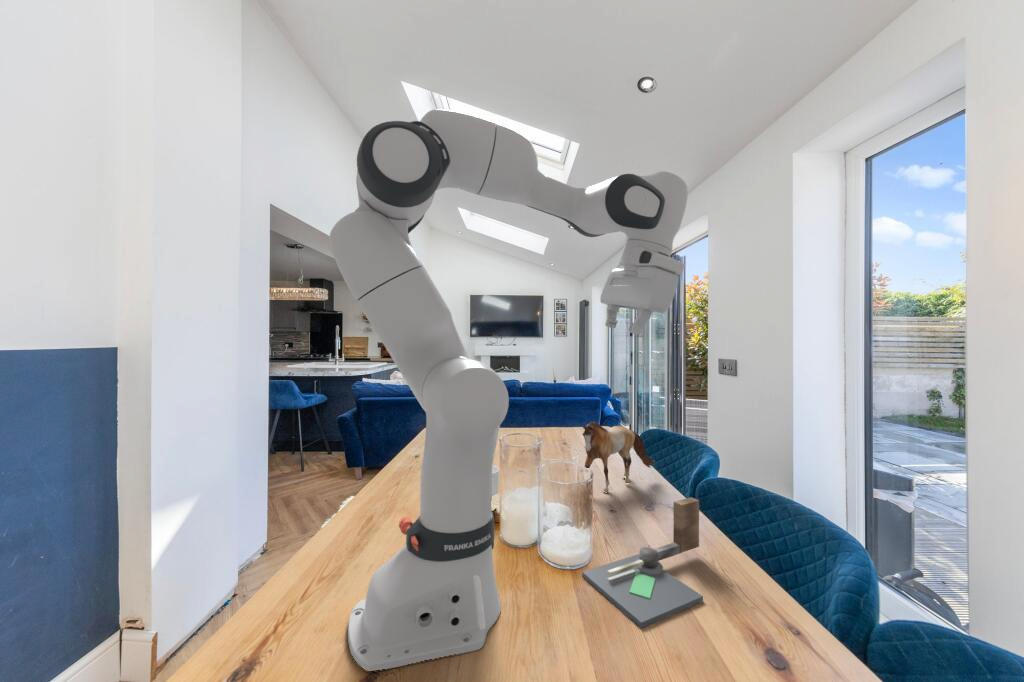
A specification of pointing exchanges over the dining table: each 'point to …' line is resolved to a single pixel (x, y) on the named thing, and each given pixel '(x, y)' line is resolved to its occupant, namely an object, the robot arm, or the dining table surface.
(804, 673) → the dining table surface
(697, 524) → the lever with brown handle
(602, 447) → the horse figurine
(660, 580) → the white-striped grey panel
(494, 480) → the white cup
